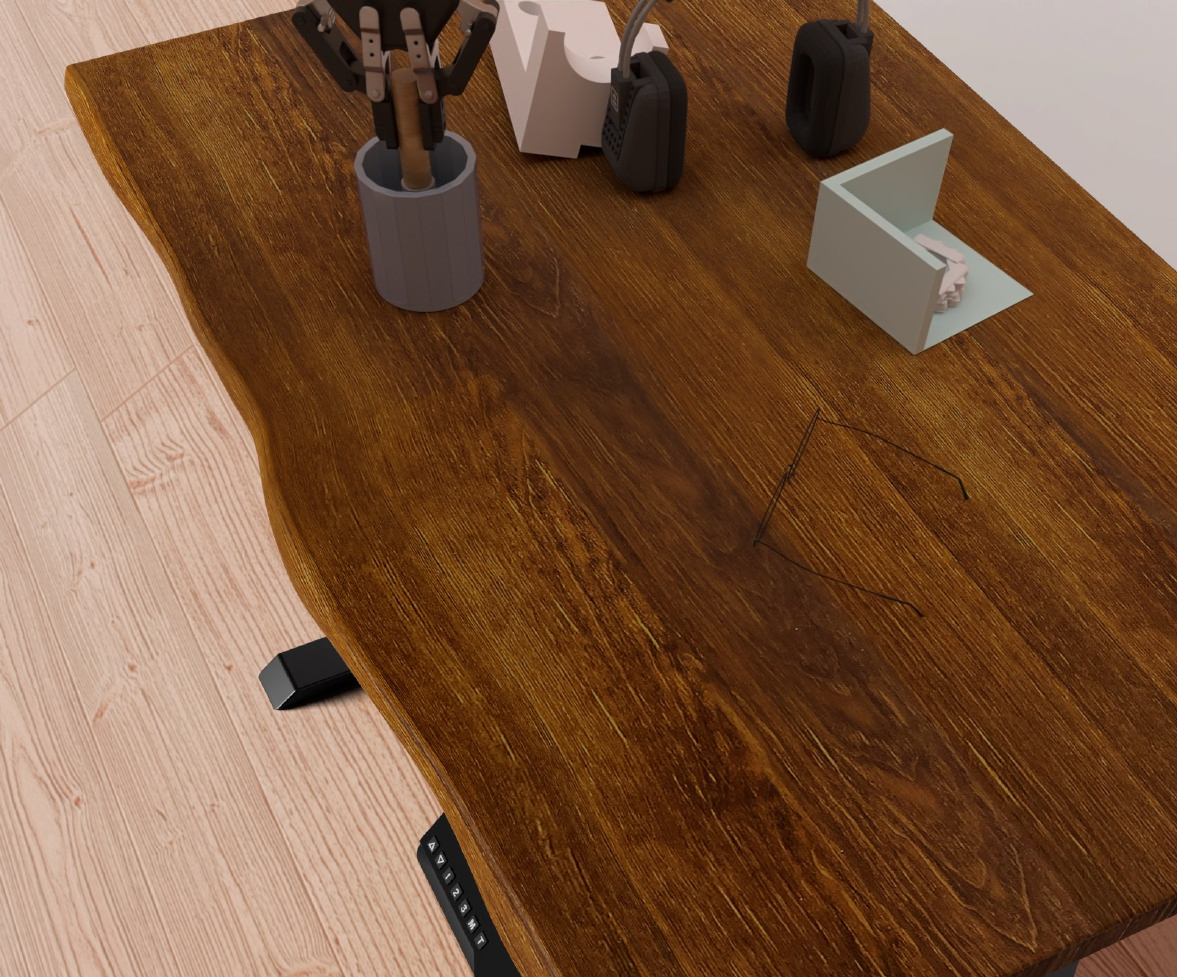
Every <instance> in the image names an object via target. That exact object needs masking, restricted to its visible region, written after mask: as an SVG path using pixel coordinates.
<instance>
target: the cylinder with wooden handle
mask: <svg viewBox="0 0 1177 977" xmlns="http://www.w3.org/2000/svg"><path fill="white" fill-rule="evenodd" d="M389 79H390V86H391V93H392V100H393V107H394V114H395V122H396V129H397V136H398V143H399V151H400V159H401V166H402V173H403V178H402V180H401V184H400V185H399V186H398V187H397V188H396V190H395V191H400V192H421V191H426V190H431V189H436V188H439V187H441V186H442V185H441V184H440V183H438V182H437V181H435V179H434V177H433V176H432V175H431V167H430V158H429V151H424V146H423V138H422V130H421V121H420V113H419V105H418V104H419V100H420V94H419V90H418V85H417V80H416V75H415V72H413V70H412V67H411V68H410V67H401V68H397V69H395V70H393V71H391V74H390V77H389Z"/></svg>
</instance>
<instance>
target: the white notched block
mask: <svg viewBox="0 0 1177 977" xmlns="http://www.w3.org/2000/svg"><path fill="white" fill-rule="evenodd" d="M496 1H497V2H498V3H499V6H500V11H499V16H498V20H497V25H496V29H495V32H494V34H493V36H492V38H491V40H490V42H489V47H490V50H491V53H492V57H493V61H494V63H495V68H496V71H497V75H498V78H499V81H500V85H501V90H502V92H503V96H504V101H505V103H506V107H507V110H508V114H509V118H510V121H511V125H512V128H513V131H514V135H515V140H516V142H517V147H518V150H519V152H520V153H525V154H526V153H527V154H537V155H544V156H551V157H552V156H553V157H561V158H567V159H568V158H569V159H576V160H577V159H578V157H579V153H580V149H581V146H589V147H595V148H602V146H601V135H602V129H603V124H604V119H605V114H606V109H607V104H608V100H609V95H610V91H611V68H616V67H617V66H618V62H619V52H620V46H621V40H620V37H619V35H618V32H617V30H616V27H615V25H614V22H613V20H612V17H611V15H610V13H609V10H608V7H607V5H606V2H605V1H599V0H496ZM653 50H658V51H660V52H662V53H664V54H665V55H666V56H667V57H668V53H669V50H670V47H669V45H668V43H667V41H666V38H665V35H664V34H663V31H662V30H661V27H660V25H659V24H655V23H650V22H649V23H648V22H643V23H642V25H641V27H640V29H639V31H638V33H637V35H636V38H635V41H634V45H633V48H632V53H631V56H633V55H634V54H636V53H640V52H646V53H648V52H650V51H653Z"/></svg>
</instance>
